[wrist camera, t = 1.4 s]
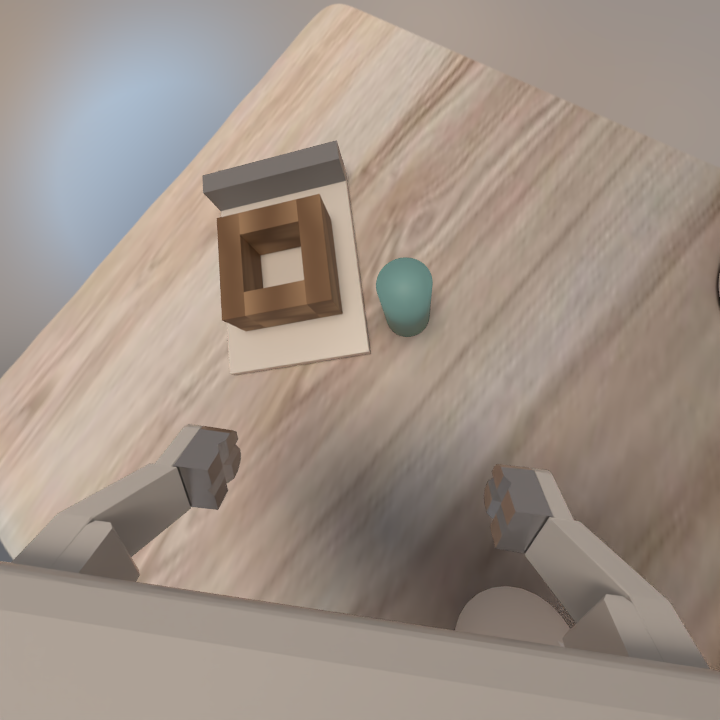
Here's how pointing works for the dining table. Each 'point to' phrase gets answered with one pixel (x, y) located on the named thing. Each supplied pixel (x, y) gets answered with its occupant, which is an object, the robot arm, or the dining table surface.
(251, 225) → the socket block
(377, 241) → the dining table surface
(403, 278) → the teal rounded peg
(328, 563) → the dining table surface
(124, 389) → the dining table surface
